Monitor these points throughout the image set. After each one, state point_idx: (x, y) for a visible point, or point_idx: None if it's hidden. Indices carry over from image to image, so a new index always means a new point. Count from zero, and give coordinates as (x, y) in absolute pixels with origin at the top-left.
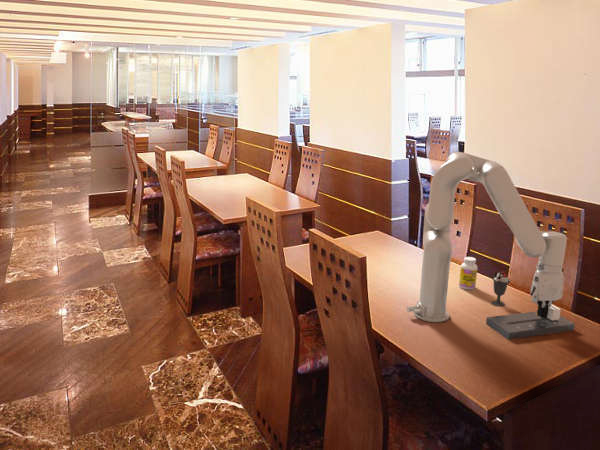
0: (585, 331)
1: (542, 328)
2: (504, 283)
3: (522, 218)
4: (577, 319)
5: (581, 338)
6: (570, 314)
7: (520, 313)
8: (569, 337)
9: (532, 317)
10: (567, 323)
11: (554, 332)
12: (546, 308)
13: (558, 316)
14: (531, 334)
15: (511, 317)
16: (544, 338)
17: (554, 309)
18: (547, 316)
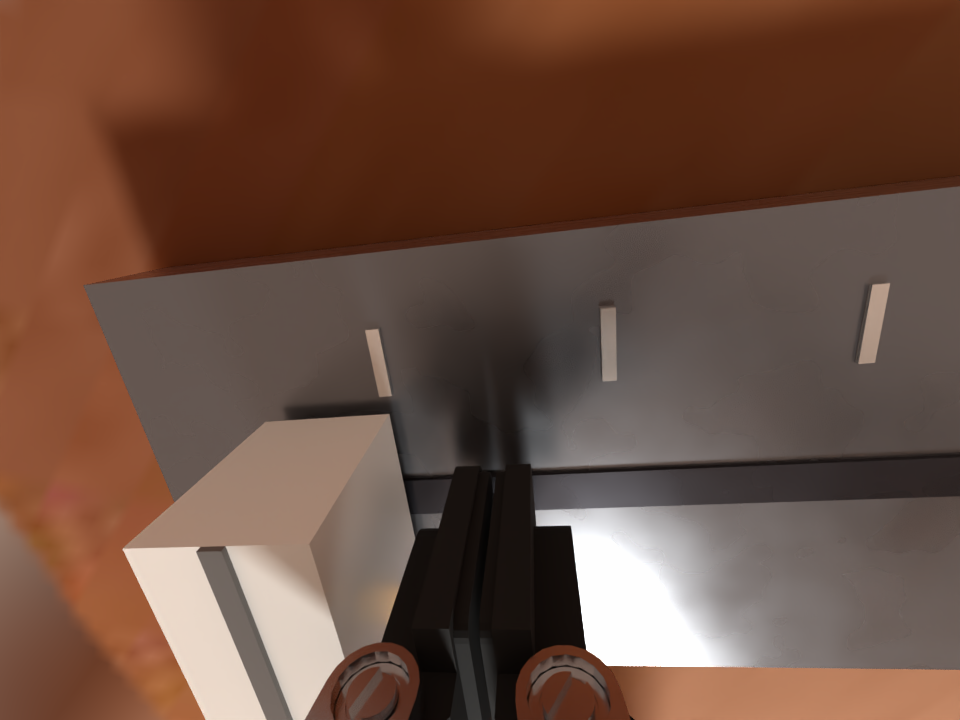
0: (38, 221)
1: (721, 212)
2: None
3: None
4: (29, 485)
5: (166, 23)
6: (60, 576)
7: (670, 661)
8: (323, 78)
9: (595, 551)
10: (193, 315)
11: (458, 235)
12: (469, 620)
13: (256, 449)
14: (896, 186)
15: (904, 605)
16: (720, 93)
17: (276, 562)
18: (401, 511)
